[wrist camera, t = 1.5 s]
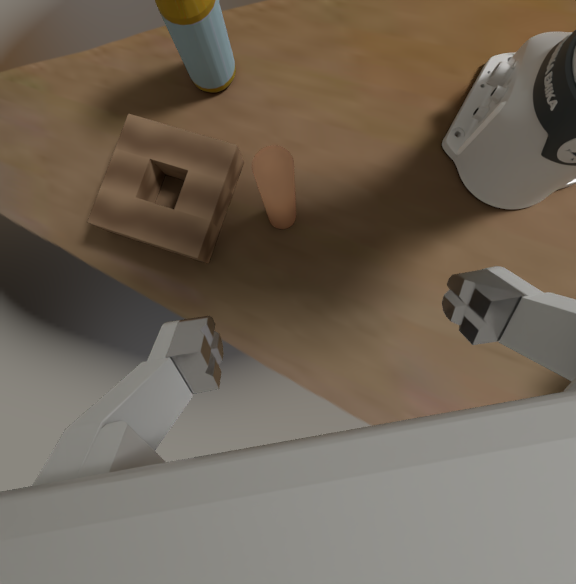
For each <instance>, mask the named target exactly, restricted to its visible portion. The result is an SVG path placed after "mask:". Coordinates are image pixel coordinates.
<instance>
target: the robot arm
mask: <svg viewBox="0 0 576 584" xmlns="http://www.w3.org/2000/svg"><path fill="white" fill-rule="evenodd" d="M455 135H457V136H458V137H456V136H455ZM442 147H443V149H444V151H445V152H446V153H447V154H448V156H449V157H450V158H451V159H452V160H453V161H454V162H455V164H456V167H457V170H458V172H459V175H460V178H461V180H462V181H463V183H464V185H465V186H466V187H467V189H468V190H469V191H470V192H471V193H472V194H473V195H474V196H475V197H477V198H478V199H480V200H481V201H483V202H485V203H487V204H489V205H491V206H494V207H498V208H502V209H522V208H526V207H530V206H532V205H535V204H537V203H539V202H540V201H542V200H543V199H545V198H546V197H547V196H549V195H550V194H552V193H553V192H555V191H556V190H558V189H562V188H565V187H568V186H571V185H573V184H575V183H576V30H575V31H574V32H571V33H569V32H548V33H542V34H539V35H536V36H534V37H532V38H530V39H529V40H527V41H526V42H525V43H524V44H523V45H522V46H521V47H520V49H519V50H518V51H517V52H516V53H504V54H499V55H496V56H493V57H491V58H490V59H489V60H488V61H487V62H486V64H485V65H484V67H483V68H482V70H481V72H480V74H479V76H478V77H477V79H476V81H475V83H474V85H473V86H472V88H471V90H470V92H469V94H468V96H467V97H466V99H465V101H464V103H463V105H462V106H461V108H460V110H459V112H458V114H457V116H456V117H455V119H454V121H453V123H452V125H451V126H450V128H449V130H448V132H447V134H446V136H445V137H444V139H443V141H442ZM447 286H448V288H449V289H450V290H449V291H448V292H447V293H446V294H445V295H444V297H443V301H442V306H443V311H444V313H445V315H446V317H447V318H448V319H449V320H450V321H451V322H453V323H456V324H458V325H459V331H460V332H461V333H462V334H463V335H464V336H465V337H466V338H467V339H468V341H469V342H470V343H471V344H472V345H476V344H483V343H490V342H496V341H499V343H501V344H503V345H504V346H506V347H508V348H510V349H512V350H514V351H516V352H518V353H519V354H521V355H523V356H525V357H527V358H529V359H531V360H533V361H534V362H536V363H538V364H540V365H542V366H544V367H546V368H547V369H549V370H551V371H553V372H555V373H557V374H559V375H561V376H562V377H564V378H566V379H568V380H570V381H572V382H571V383H570V384H569V385H568V386H567V387H566V389H565V390H564V392H560V393H554V394H549V395H543V396H537V397H532V398H526V399H520V400H515V401H509V402H503V403H498V404H492V405H487V406H481V407H475V408H470V409H464V410H458V411H453V412H447V413H441V414H436V415H430V416H424V417H419V418H413V419H408V420H402V421H396V422H391V423H385V424H379V425H374V426H368V427H363V428H357V429H351V430H346V431H340V432H335V433H329V434H323V435H319V436H312V437H306V438H301V439H295V440H290V441H284V442H279V443H273V444H267V445H262V446H256V447H250V448H245V449H239V450H234V451H228V452H222V453H217V454H211V455H205V456H199V457H194V458H188V459H182V460H177V461H171V462H165V461H164V460H163V459H162V458H161V457H160V456H159V455H158V454H157V453H156V452H155V450H156V448H157V447H158V445H159V444H160V443H161V441H162V440H163V438H164V437H165V435H166V434H167V432H168V431H169V430H170V428H171V427H172V425H173V424H174V422H175V421H176V420H177V418H178V417H179V415H180V413H181V412H182V411H183V409H184V408H185V407H186V405H187V404H188V402H189V401H190V399H191V398H192V396H193V394H197V393H202V392H206V391H212V390H217V389H219V385H220V378H221V370H220V368H219V364H220V363H221V362H222V361H223V345H222V340H221V337H220V335H219V333H217V332H215V331H214V330H215V322H214V320H213V318H212V317H211V316H204V317H198V318H191V319H184V320H180V321H172V322H166V323H164V324H163V325H162V327H161V329H160V331H159V334H158V336H157V338H156V341H155V343H154V345H153V348H152V350H151V353H150V355H149V357H148V360H147V361H146V362H142V363H141V364H139V365H138V366H137V367H136V368H135V369H134V370H132V371H131V372H130V373H129V374H128V375H127V376H126V377H124V378H123V379H122V380H121V381H120V382H119V383H118V384H116V385H115V386H114V387H113V388H112V389H111V390H110V391H108V392H107V393H106V394H105V395H104V396H103V397H101V398H100V399H99V400H98V401H97V402H96V403H95V404H93V405H92V406H91V407H90V408H89V409H88V410H87V411H86V412H84V413H83V414H82V415H81V416H80V417H79V418H77V419H76V420H75V421H74V422H73V423H72V424H71V425H69V426H68V427H67V428H66V429H65V431H64V432H63V434H62V436H61V437H60V439H59V441H58V442H57V444H56V446H55V448H54V450H53V451H52V453H51V455H50V456H49V458H48V460H47V461H46V463H45V465H44V467H43V468H42V470H41V472H40V474H39V475H38V477H37V478H36V480H35V482H34V483H33V485H32V486H30V487H24V488H18V489H12V490H7V491H1V492H0V584H576V300H575V299H572V298H568V297H564V296H561V295H557V294H553V293H550V292H548V293H543V292H542V291H540V290H539V289H537V288H535V287H534V286H532V285H531V284H529V283H527V282H526V281H524V280H523V279H521V278H520V277H518V276H516V275H515V274H513V273H512V272H510V271H509V270H507V269H505V268H504V267H499V266H495V267H490V268H485V269H482V270H477V271H471V272H465V273H459V274H454V275H452V276H451V277H450V278H449V280H448V283H447Z"/></svg>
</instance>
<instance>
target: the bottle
mask: <svg viewBox="0 0 576 584" xmlns="http://www.w3.org/2000/svg"><path fill="white" fill-rule="evenodd" d="M155 2H156V4H157V7H158V9H159V11H160V14H161V16H162V18H163V20H164V22H165V24H166V26H167V29H168V31H169V33H170V35H171V37H172V39H173V41H174V43H175V46H176V48H177V50H178V52H179V54H180V56H181V58H182V60H183V63H184V65H185V67H186V69H187V71H188V73H189V75H190V77H191V79H192V81H193V83H194V84H195V85H196V86H197V87H198V88H199V89H201V90H203V91H206V92H211V93H214V92H220V91H222V90H224V89H225V88H227V87H228V86H229V85H230V83H231V82H232V80H233V79H234V76H235V72H236V66H235V61H234V57H233V53H232V50H231V46H230V42H229V38H228V34H227V31H226V27H225V23H224V19H223V15H222V11H221V8H220V4H219V0H155Z"/></svg>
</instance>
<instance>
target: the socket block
mask: <svg viewBox="0 0 576 584" xmlns="http://www.w3.org/2000/svg"><path fill="white" fill-rule="evenodd" d="M243 164H244V161H243V158H242V156H241V153H240V150H239V148H238V145H235V144H232V143H228V142H225V141H222V140H218V139H215V138H211V137H208V136H204V135H201V134H197V133H194V132H191V131H187V130H184V129H180V128H177V127H173V126H170V125H166V124H163V123H159V122H156V121H153V120H149V119H146V118H142V117H139V116H135V115H132V114H128V116H127V119H126V121H125V124H124V126H123V129H122V132H121V134H120V137H119V139H118V142H117V145H116V147H115V150H114V153H113V155H112V158H111V160H110V163H109V166H108V168H107V171H106V174H105V176H104V179H103V181H102V184H101V187H100V189H99V192H98V194H97V197H96V200H95V202H94V205H93V208H92V210H91V213H90V215H89V218H88V221H87V223H90V224H92V225H95V226H97V227H99V228H102V229H104V230H107V231H109V232H112V233H115V234H118V235H121V236H124V237H127V238H130V239H133V240H137V241H140V242H143V243H146V244H149V245H152V246H155V247H158V248H161V249H164V250H167V251H170V252H173V253H176V254H180V255H183V256H186V257H189V258H192V259H195V260H198V261H201V262H204V263H207V264H209V261H210V258H211V255H212V252H213V249H214V247H215V244H216V241H217V238H218V235H219V232H220V229H221V227H222V224H223V221H224V218H225V215H226V212H227V209H228V207H229V204H230V201H231V198H232V195H233V192H234V189H235V187H236V184H237V181H238V178H239V175H240V172H241V170H242V167H243ZM165 174H166V175H169V176H172V177H176V178H179V179H182V180H185V181H184V184H183V186H182V189H181V192H180V195H179V197H178V200H177V203H176V206H175V208H174V209H171V208H168V207H165V206H162V205H159V204H155V201H156V199H157V196H158V193H159V191H160V188H161V185H162V182H163V180H164V177H165Z"/></svg>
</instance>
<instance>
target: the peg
mask: <svg viewBox="0 0 576 584" xmlns="http://www.w3.org/2000/svg"><path fill="white" fill-rule="evenodd" d="M252 170H253V174H254V176H255V179H256V182H257V185H258V188H259V191H260V194H261V197H262V200H263V203H264V206H265V209H266V212H267V215H268V218H269V221H270V223H271V224H272V225H273V226H274V227H276V228H278V229H286V228H289V227H290V226H292V225H293V223H294V222H295V219H296V201H295V177H294V160H293V157H292V155H291V154H290V152H289V151H288V150H287V149H285V148H283V147H281V146H278V145H270V146H266V147H264V148H262V149H261V150H259V151H258V152H257V153H256V155H255V156H254V159H253V162H252Z"/></svg>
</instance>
